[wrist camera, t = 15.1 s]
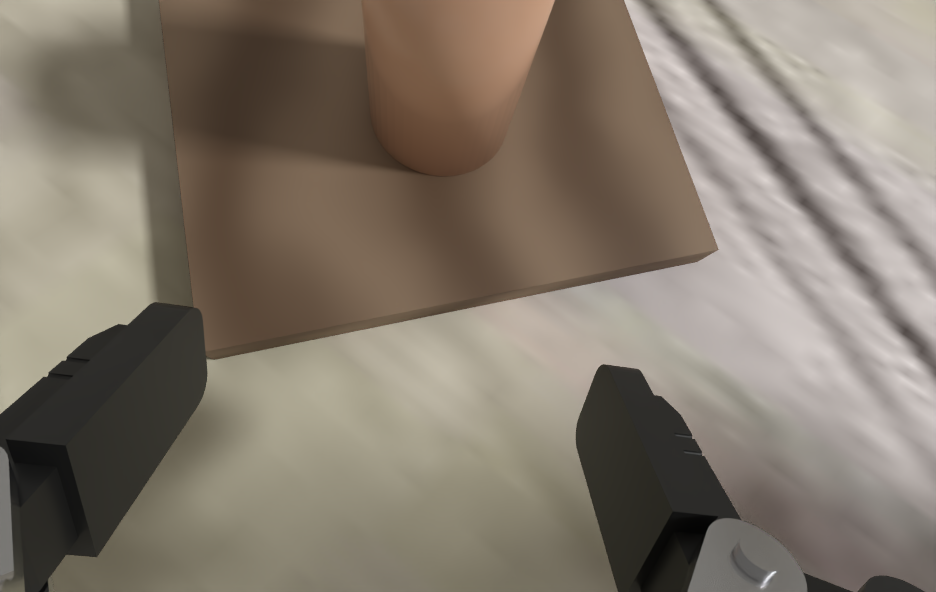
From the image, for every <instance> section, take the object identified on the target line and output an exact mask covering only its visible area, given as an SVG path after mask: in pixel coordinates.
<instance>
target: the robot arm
mask: <svg viewBox="0 0 936 592" xmlns="http://www.w3.org/2000/svg"><path fill="white" fill-rule="evenodd" d="M206 382H207V362H206V351H205V339H204V327H203V317H202V314H201V311H200V310H199V309H198V308H194V307H187V306H179V305H172V304H165V303H157V302H155V303H152V304H150V305H149V306H148V307H147V308H146V309H145V310H144V311H142V312H141V313H140V314H139V315H138V316H137V317H136V318H135V319H134V320H133V321H132V322H131V323H130V324H128V325H121V324H118V325H115V326H113V327H111V328H109V329H107V330H105V331H103V332H101V333H98V334H96V335H94V336H92V337H90V338H88V339H87V340H86V341H85V342H83V343H82V344H81V345H80V346H79V347H78V348H76V349H75V350H74V351H73V352H72V353H71V354H70V355H68V356H67V359H66V361H61V362H60V363H59V364H58V365H57V366H56V367H55V368H53V369H52V370H51V371H50V372H49V374H48V377H43V378H42V379H41V380H39V381H38V382H37V383H36V384H35V385H34V386H33V387H31V388H30V389H29V390H28V391H27V392H26V393H24V394H23V395H22V396H21V397H20V398H19V399H18V400H16V401H15V402H14V403H13V404H12V405H11V406H9V407H8V408H7V409H6V410H5V411H4V412H3V413H1V414H0V592H54V585H53V581H52V577H51V575H52V573H53V572H54V570H55V569H56V568H57V566H58V565H59V564H60V562H61V561H62V559H63V558H64V557H65V555H78V556H90V557H97V556H98V555H99V553H100V552H101V550H102V549H103V547H104V546H105V544H106V543H107V541H108V540H109V538H110V537H111V535H112V534H113V532H114V531H115V529H116V528H117V526H118V525H119V523H120V522H121V520H122V519H123V517H124V516H125V514H126V513H127V511H128V510H129V508H130V507H131V505H132V504H133V502H134V501H135V499H136V498H137V496H138V495H139V493H140V492H141V490H142V489H143V487H144V486H145V484H146V483H147V481H148V480H149V478H150V477H151V475H152V474H153V472H154V471H155V469H156V468H157V466H158V465H159V463H160V462H161V460H162V459H163V457H164V456H165V454H166V453H167V451H168V450H169V448H170V447H171V445H172V444H173V442H174V441H175V439H176V438H177V436H178V435H179V433H180V432H181V430H182V429H183V427H184V426H185V424H186V423H187V421H188V420H189V418H190V417H191V415H192V414H193V412H194V411H195V409H196V408H197V406H198V405H199V403H200V401H201V399H202V397H203V394H204V391H205V387H206ZM576 446H577V451H578V454H579V458H580V461H581V465H582V468H583V472H584V475H585V479H586V482H587V486H588V489H589V493H590V496H591V499H592V503H593V506H594V510H595V513H596V517H597V520H598V524H599V527H600V531H601V534H602V538H603V541H604V545H605V548H606V552H607V555H608V558H609V562H610V565H611V569H612V572H613V576H614V579H615V583H616V586H617V590H618V592H852V591H849V590H846V589H844V588H841V587H839V586H836V585H833V584H831V583H828V582H826V581H823V580H820V579H818V578H815V577H813V576H810V575H807V574H805V573H803V572H802V569H801V568H800V566H799V564H798V563H797V561H796V560H795V559H794V557H793V556H792V555H791V553H790V552H789V551H788V550H787V549H786V548H785V547H784V546H783V545H782V544H781V543H780V542H779V541H777V540H776V539H775V538H774V537H772V536H771V535H770V534H768V533H767V532H765V531H764V530H762V529H760V528H758V527H756V526H755V525H753V524H750V523H748V522H745V521H742V520H741V519H740V517H739V515H738V514H737V512H736V510H735V508H734V507H733V505H732V503H731V501H730V500H729V498H728V496H727V495H726V493H725V491H724V489H723V488H722V486H721V484H720V482H719V481H718V479H717V477H716V475H715V474H714V472H713V470H712V469H711V467H710V465H709V463H708V462H707V460H706V458H705V457H704V456H702V451H701V449H700V448H699V446H698V444H697V442H696V441H695V439H692V434H691V432H690V430H689V429H688V427H687V425H686V423H685V422H684V420H683V418H682V416H681V415H680V414H679V413H678V412H677V411H676V410H675V409H674V408H673V407H672V406H671V405H670V404H669V403H668V402H667V401H666V400H664V399H663V398H662V397H661V396H655V395H654V394H653V393H652V391H651V389H650V387H649V385H648V383H647V381H646V380H645V378H644V376H643V374H642V372H641V371H640V370H638V369H634V368H626V367H619V366H612V365H604V364H603V365H601V366H600V367H599V368H598V370H597V371H596V374H595V376H594V379H593V382H592V384H591V387H590V390H589V392H588V395H587V397H586V400H585V403H584V405H583V408H582V411H581V413H580V416H579V419H578V422H577V428H576ZM858 592H924V591H922V590H921V589H919V588H917V587H915V586H914V585H911V584H909V583H907V582H905V581H903V580H900V579H897V578H893V577H889V576H874V577H872V578H870V579H869V580H868V581H867V582H866V583H865V584H864V585H863V586H862V588H861V589H860V590H859V591H858Z"/></svg>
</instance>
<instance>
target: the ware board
mask: <svg viewBox="0 0 936 592" xmlns="http://www.w3.org/2000/svg"><path fill="white" fill-rule="evenodd" d="M159 6H160V15H161V24H162V33H163V42H164V50H165V59H166V68H167V77H168V86H169V95H170V103H171V112H172V121H173V130H174V139H175V148H176V157H177V165H178V174H179V183H180V192H181V201H182V210H183V218H184V227H185V236H186V245H187V254H188V263H189V272H190V280H191V289H192V298H193V307H194V308H198V309H199V310H200V311H201V314H202V317H203V327H204V339H205V351H206V356H207V357H209V358H211V359H214V360H215V359H220V358H225V357H230V356H235V355H240V354H245V353H249V352H254V351H259V350H264V349H269V348H274V347H279V346H284V345H289V344H294V343H299V342H304V341H309V340H314V339H319V338H323V337H328V336H333V335H338V334H343V333H348V332H353V331H358V330H363V329H368V328H373V327H378V326H383V325H388V324H393V323H397V322H402V321H407V320H412V319H417V318H422V317H427V316H432V315H437V314H442V313H447V312H452V311H457V310H462V309H467V308H471V307H476V306H481V305H486V304H491V303H496V302H501V301H506V300H511V299H516V298H521V297H526V296H531V295H536V294H541V293H545V292H550V291H555V290H560V289H565V288H570V287H575V286H580V285H585V284H590V283H595V282H600V281H605V280H610V279H615V278H619V277H624V276H629V275H634V274H639V273H644V272H649V271H654V270H659V269H664V268H669V267H674V266H679V265H684V264H689V263H693V262H698V261H699V260H701V259H703V258H705V257H706V256H708V255H710V254H712V253H713V252H715V251H717V250H719V249H718V247H717V244H716V242H715V239H714V236H713V234H712V231H711V228H710V226H709V223H708V220H707V218H706V215H705V213H704V210H703V207H702V205H701V202H700V199H699V197H698V194H697V192H696V189H695V186H694V184H693V181H692V178H691V176H690V173H689V170H688V168H687V165H686V163H685V160H684V157H683V155H682V152H681V149H680V147H679V144H678V142H677V139H676V136H675V134H674V131H673V128H672V126H671V123H670V120H669V118H668V115H667V113H666V110H665V107H664V105H663V102H662V99H661V97H660V94H659V92H658V89H657V86H656V84H655V81H654V78H653V76H652V73H651V70H650V68H649V65H648V63H647V60H646V57H645V55H644V52H643V49H642V47H641V44H640V42H639V39H638V36H637V34H636V31H635V28H634V26H633V23H632V20H631V18H630V15H629V13H628V10H627V7H626V5H625V2H624V0H555V2H554V4H553V7H552V10H551V13H550V15H549V18H548V21H547V24H546V26H545V29H544V32H543V35H542V37H541V40H540V43H539V46H538V48H537V51H536V54H535V57H534V59H533V62H532V65H531V68H530V70H529V73H528V76H527V79H526V81H525V84H524V87H523V90H522V92H521V95H520V98H519V101H518V103H517V106H516V109H515V112H514V114H513V117H512V120H511V123H510V125H509V128H508V131H507V134H506V136H505V139H504V142H503V144H502V146H501V147H500V149H499V151H498V152H497V153H496V154H495V156H494V157H493V158H492V159H491V160H490V161H488V162H487V163H486V164H484V165H483V166H481V167H480V168H478V169H476V170H474V171H471V172H468V173H465V174H461V175H456V176H434V175H428V174H424V173H420V172H417V171H415V170H412V169H410V168H408V167H406V166H404V165H403V164H401V163H400V162H398V161H397V160H395V159H394V158H393V157H392V156H391V155H390V154H389V153H388V152H387V151H386V150H385V149H384V148H383V146H382V145H381V143H380V142H379V140H378V139H377V137H376V135H375V132H374V130H373V126H372V123H371V116H370V104H369V91H368V78H367V66H366V53H365V40H364V28H363V15H362V2H361V0H159Z"/></svg>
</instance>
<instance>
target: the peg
mask: <svg viewBox="0 0 936 592" xmlns="http://www.w3.org/2000/svg"><path fill="white" fill-rule="evenodd" d="M361 2H362V15H363V28H364V40H365V53H366V66H367V78H368V91H369V104H370V116H371V123H372V126H373V130H374V132H375V135H376V137H377V139H378V140H379V142H380V143H381V145H382V146H383V148H384V149H385V150H386V151H387V152H388V153H389V154H390V155H391V156H392V157H393V158H394V159H395V160H397V161H398V162H400V163H401V164H403V165H404V166H406V167H408V168H410V169H412V170H415V171H417V172H420V173H424V174H428V175H434V176H456V175H461V174H465V173H468V172H471V171H474V170H476V169H478V168H480V167H481V166H483V165H484V164H486V163H487V162H488V161H490V160H491V159H492V158H493V157H494V156H495V154H496V153H497V152H498V151H499V149H500V147H501V146H502V144H503V142H504V139H505V136H506V134H507V131H508V128H509V125H510V123H511V120H512V117H513V114H514V112H515V109H516V106H517V103H518V101H519V98H520V95H521V92H522V90H523V87H524V84H525V81H526V79H527V76H528V73H529V70H530V68H531V65H532V62H533V59H534V57H535V54H536V51H537V48H538V46H539V43H540V40H541V37H542V35H543V32H544V29H545V26H546V24H547V21H548V18H549V15H550V13H551V10H552V7H553V4H554V2H555V0H361Z"/></svg>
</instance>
